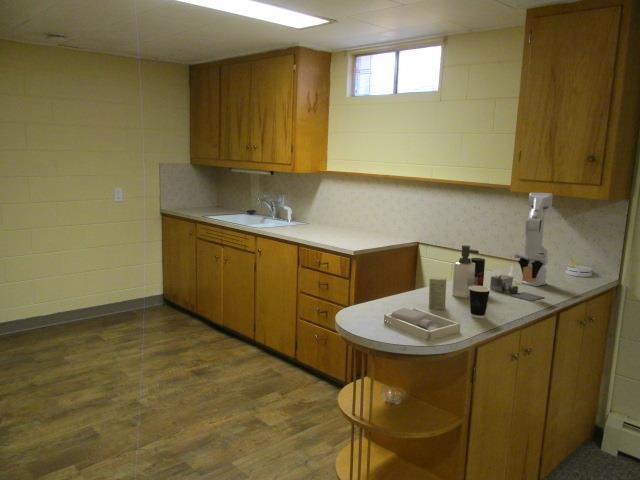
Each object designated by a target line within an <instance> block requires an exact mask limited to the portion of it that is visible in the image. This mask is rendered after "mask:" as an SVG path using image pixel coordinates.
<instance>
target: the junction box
mask: <svg viewBox="0 0 640 480" xmlns="http://www.w3.org/2000/svg"><path fill="white" fill-rule="evenodd" d="M513 280H514V277H513V276H509V275H506V274H498V275H492V276H490V282H489V283H490V286H489V288H490V289H491V290H490V291H494V292H498V293H501V294H502V293H506V292H508V289H509V285H513V284H514V283H513V282H514V281H513Z"/></svg>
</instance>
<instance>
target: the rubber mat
mask: <svg viewBox="0 0 640 480" xmlns="http://www.w3.org/2000/svg"><path fill="white" fill-rule="evenodd" d="M510 297H511V298H512V297H513V298H516V299H519V300H525V301H528V302H535V301H540V300H543V299H545V298H546V297H545V296H541V295H538V294H533V293H530V292H526V291H522V292H518V294H511V295H510Z"/></svg>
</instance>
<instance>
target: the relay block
mask: <svg viewBox="0 0 640 480" xmlns="http://www.w3.org/2000/svg"><path fill="white" fill-rule="evenodd" d="M532 271H533V270H532V267H531V266H527V267H523V275H522V278H521V279H522V281H521V282H524V281H526V282H530V283H531V282H535V281H536V278H532Z"/></svg>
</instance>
